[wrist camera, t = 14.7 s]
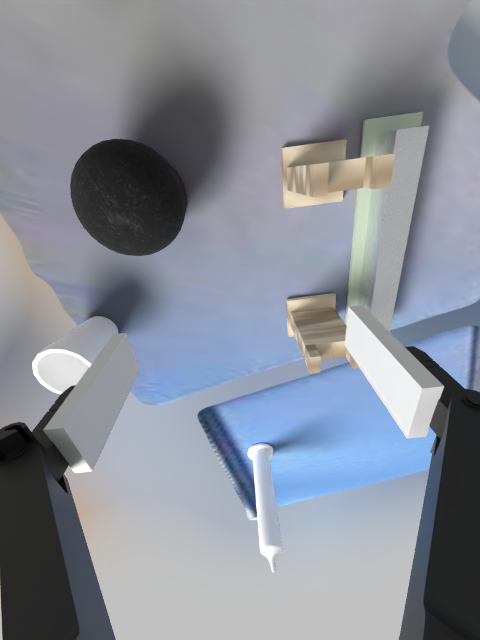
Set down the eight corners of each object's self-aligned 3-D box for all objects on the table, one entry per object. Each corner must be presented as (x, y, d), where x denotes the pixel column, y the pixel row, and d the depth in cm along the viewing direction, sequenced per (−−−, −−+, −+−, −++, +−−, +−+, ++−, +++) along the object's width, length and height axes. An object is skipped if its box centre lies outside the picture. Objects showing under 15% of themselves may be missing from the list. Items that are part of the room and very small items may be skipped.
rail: (377, 135, 37) (396, 129, 33) (405, 131, 37) (429, 125, 32) (355, 327, 53) (366, 341, 48) (375, 325, 52) (388, 339, 48)
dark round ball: (198, 238, 44) (184, 266, 30) (118, 242, 43) (71, 272, 30) (186, 143, 37) (163, 127, 24) (93, 148, 37) (19, 134, 24)
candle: (245, 457, 73) (251, 579, 51) (250, 441, 69) (260, 564, 48) (269, 460, 74) (286, 580, 52) (276, 444, 70) (297, 565, 49)
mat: (363, 120, 36) (364, 119, 36) (421, 112, 36) (423, 111, 36) (343, 335, 54) (344, 337, 54) (382, 331, 54) (383, 332, 53)
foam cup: (132, 321, 51) (104, 363, 39) (119, 355, 55) (90, 403, 43) (82, 301, 48) (36, 340, 37) (72, 338, 52) (28, 384, 41)
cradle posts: (281, 148, 38) (309, 134, 25) (344, 139, 38) (405, 121, 24) (287, 334, 53) (306, 386, 40) (331, 329, 53) (365, 379, 40)
